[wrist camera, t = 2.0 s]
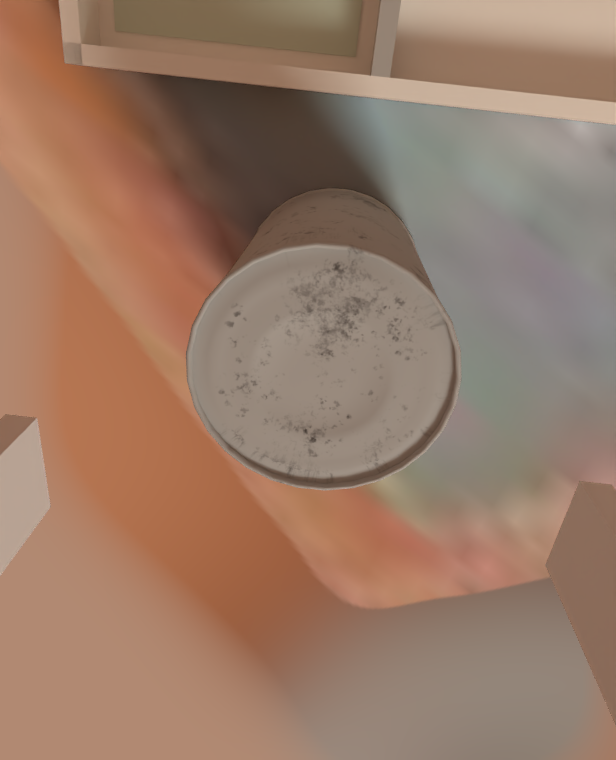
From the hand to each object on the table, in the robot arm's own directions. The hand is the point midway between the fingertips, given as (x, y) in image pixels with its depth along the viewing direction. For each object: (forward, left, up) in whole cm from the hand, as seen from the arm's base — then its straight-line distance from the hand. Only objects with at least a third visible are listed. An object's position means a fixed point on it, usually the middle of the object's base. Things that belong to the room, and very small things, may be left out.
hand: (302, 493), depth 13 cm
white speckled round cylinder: (0, 0, -19) cm, 19 cm away
